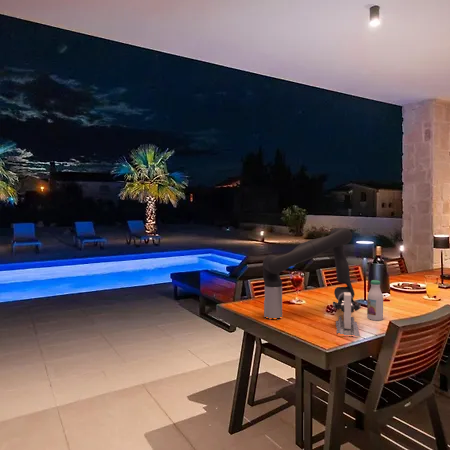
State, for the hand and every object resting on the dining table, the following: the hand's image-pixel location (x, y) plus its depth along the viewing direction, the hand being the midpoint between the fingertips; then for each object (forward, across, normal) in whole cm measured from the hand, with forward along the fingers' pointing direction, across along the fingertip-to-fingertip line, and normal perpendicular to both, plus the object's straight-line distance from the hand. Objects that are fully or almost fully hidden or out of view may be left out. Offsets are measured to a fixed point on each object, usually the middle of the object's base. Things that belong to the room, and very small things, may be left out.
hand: (347, 310), depth 189 cm
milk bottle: (-24, +15, +11) cm, 30 cm away
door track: (-3, 0, +10) cm, 11 cm away
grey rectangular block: (-3, 0, +9) cm, 9 cm away
